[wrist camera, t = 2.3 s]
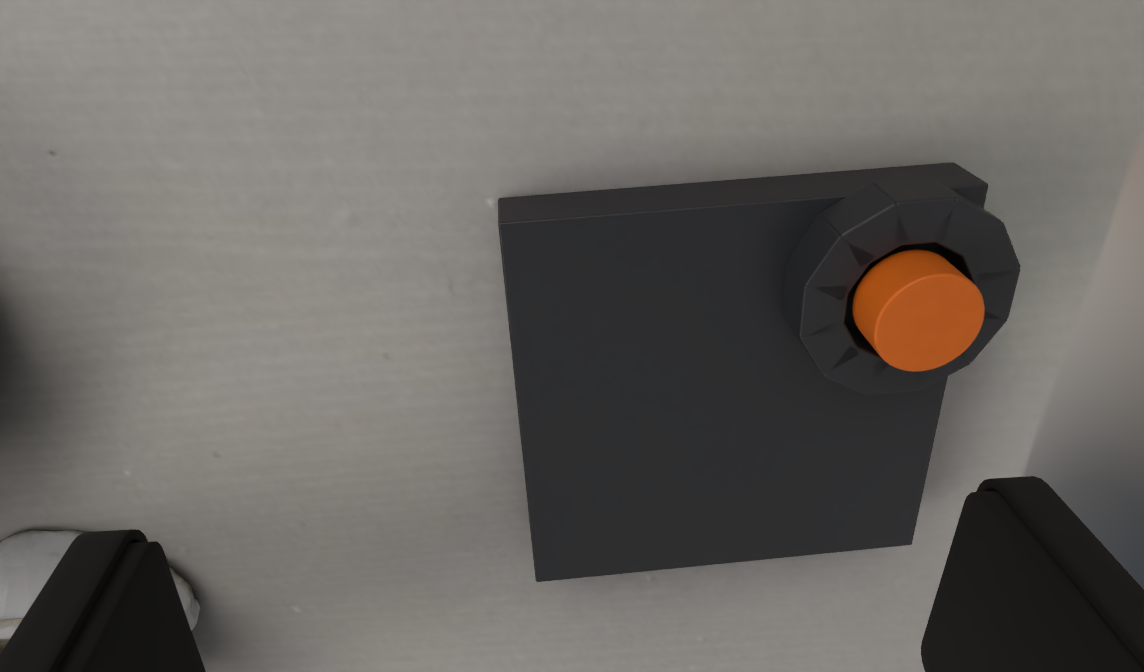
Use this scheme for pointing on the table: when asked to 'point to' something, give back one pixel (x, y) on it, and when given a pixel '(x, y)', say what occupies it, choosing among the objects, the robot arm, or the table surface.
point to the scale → (728, 364)
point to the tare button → (917, 310)
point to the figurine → (26, 561)
